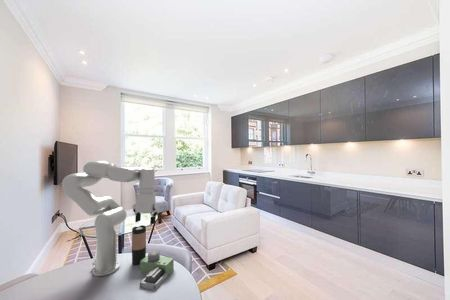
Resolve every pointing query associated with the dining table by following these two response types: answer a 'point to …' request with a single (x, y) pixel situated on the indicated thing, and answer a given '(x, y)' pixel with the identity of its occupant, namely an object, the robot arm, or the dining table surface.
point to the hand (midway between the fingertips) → (145, 222)
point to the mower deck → (153, 262)
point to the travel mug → (138, 244)
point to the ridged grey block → (154, 275)
